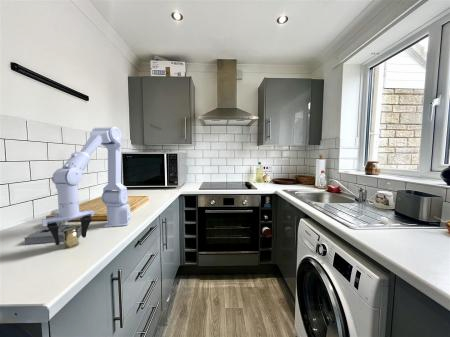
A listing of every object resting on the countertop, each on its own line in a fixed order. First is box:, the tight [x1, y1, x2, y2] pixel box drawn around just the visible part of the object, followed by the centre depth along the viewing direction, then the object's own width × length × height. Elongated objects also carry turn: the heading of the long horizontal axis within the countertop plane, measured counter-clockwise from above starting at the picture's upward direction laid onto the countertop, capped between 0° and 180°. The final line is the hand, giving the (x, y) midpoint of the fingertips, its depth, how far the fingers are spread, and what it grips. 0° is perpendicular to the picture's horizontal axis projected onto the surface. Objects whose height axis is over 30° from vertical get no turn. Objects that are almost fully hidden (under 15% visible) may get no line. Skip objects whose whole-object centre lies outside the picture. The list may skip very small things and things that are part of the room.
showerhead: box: [50, 208, 69, 225], centre depth 96 cm, size 9×7×10 cm
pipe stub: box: [63, 227, 80, 249], centre depth 73 cm, size 4×4×6 cm
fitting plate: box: [24, 223, 90, 246], centre depth 82 cm, size 16×12×3 cm
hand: (71, 240), depth 73 cm, fingers open, 7 cm apart
